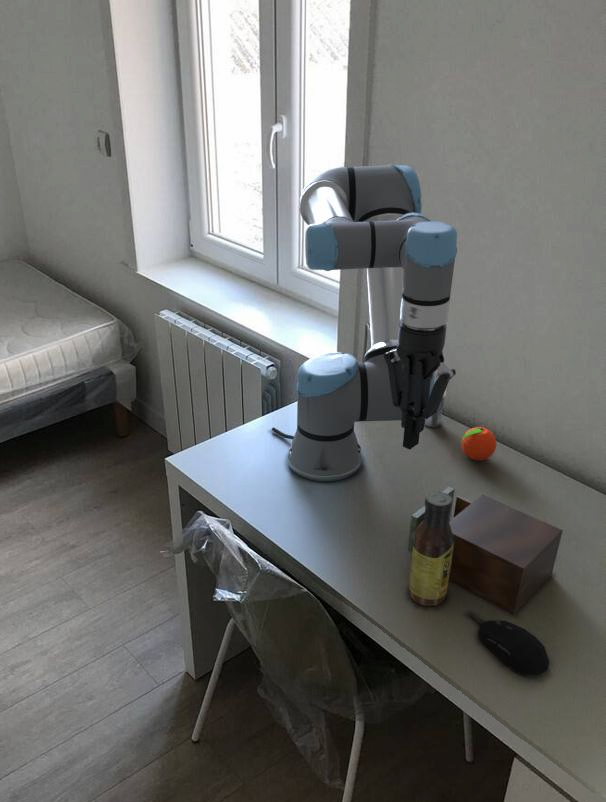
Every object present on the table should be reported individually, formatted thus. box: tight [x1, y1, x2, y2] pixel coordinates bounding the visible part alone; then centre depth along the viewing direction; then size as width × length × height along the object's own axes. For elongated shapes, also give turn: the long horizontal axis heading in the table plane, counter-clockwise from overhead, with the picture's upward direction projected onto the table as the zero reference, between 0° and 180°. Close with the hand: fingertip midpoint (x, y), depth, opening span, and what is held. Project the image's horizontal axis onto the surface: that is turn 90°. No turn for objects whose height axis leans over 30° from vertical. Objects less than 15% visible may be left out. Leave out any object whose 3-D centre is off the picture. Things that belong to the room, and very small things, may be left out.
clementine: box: [459, 426, 497, 461], centre depth 161 cm, size 8×7×7 cm
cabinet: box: [449, 494, 563, 614], centre depth 131 cm, size 15×13×10 cm
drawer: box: [407, 485, 474, 553], centre depth 136 cm, size 15×12×8 cm
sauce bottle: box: [408, 490, 454, 607], centre depth 125 cm, size 6×6×20 cm
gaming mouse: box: [469, 613, 550, 676], centre depth 119 cm, size 6×15×4 cm, turn 30°
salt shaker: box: [424, 390, 447, 428], centre depth 172 cm, size 4×5×10 cm
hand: (410, 444), depth 139 cm, fingers closed
